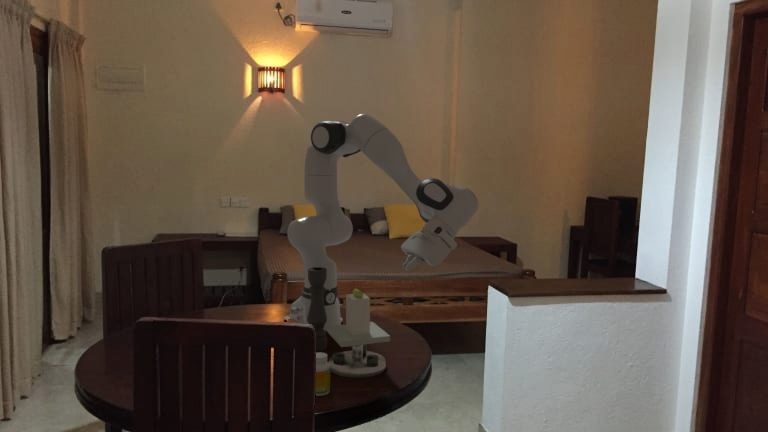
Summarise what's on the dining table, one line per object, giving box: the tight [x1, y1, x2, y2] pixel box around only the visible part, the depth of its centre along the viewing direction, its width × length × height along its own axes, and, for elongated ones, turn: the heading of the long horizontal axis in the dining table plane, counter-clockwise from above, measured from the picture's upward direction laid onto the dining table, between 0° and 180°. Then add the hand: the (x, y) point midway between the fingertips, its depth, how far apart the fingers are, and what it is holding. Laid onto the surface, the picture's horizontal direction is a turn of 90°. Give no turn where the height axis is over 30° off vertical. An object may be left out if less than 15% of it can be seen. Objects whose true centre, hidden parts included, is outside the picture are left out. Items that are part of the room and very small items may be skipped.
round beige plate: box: [328, 344, 387, 379], centre depth 159 cm, size 16×16×8 cm
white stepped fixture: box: [326, 288, 391, 348], centre depth 158 cm, size 14×14×13 cm
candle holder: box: [307, 267, 328, 353], centre depth 173 cm, size 6×6×25 cm
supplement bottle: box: [315, 351, 331, 397], centre depth 142 cm, size 5×5×10 cm
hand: (405, 268), depth 162 cm, fingers closed
